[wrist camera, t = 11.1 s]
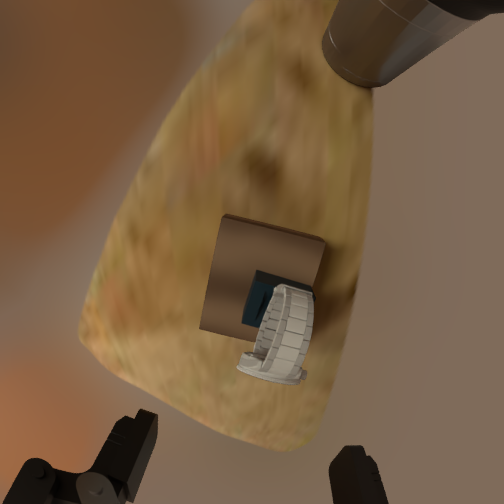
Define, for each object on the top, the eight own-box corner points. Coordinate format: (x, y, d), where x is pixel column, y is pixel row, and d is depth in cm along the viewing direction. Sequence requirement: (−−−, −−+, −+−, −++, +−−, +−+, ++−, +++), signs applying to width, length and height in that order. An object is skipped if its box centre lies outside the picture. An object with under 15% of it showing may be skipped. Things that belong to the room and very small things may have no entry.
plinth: (226, 213, 28) (221, 217, 26) (319, 237, 29) (326, 243, 26) (204, 316, 31) (199, 328, 28) (288, 335, 32) (290, 349, 29)
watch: (238, 324, 28) (225, 397, 17) (261, 252, 26) (260, 299, 16) (289, 338, 28) (299, 413, 18) (317, 269, 26) (349, 323, 16)
